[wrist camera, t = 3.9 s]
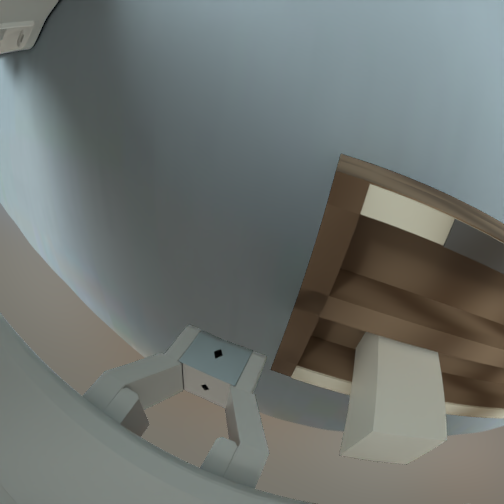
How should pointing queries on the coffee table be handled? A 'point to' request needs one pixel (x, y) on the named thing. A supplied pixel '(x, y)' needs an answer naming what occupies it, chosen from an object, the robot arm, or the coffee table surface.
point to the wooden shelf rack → (402, 287)
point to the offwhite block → (394, 402)
